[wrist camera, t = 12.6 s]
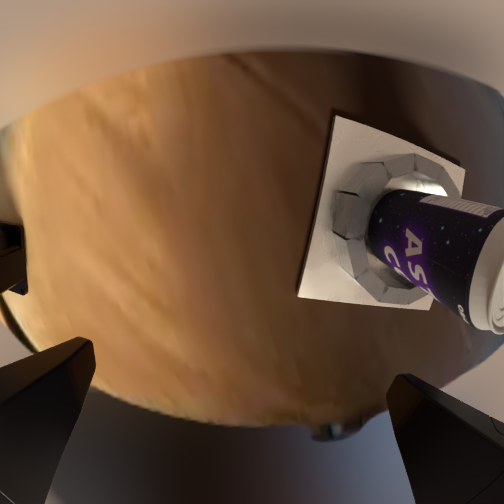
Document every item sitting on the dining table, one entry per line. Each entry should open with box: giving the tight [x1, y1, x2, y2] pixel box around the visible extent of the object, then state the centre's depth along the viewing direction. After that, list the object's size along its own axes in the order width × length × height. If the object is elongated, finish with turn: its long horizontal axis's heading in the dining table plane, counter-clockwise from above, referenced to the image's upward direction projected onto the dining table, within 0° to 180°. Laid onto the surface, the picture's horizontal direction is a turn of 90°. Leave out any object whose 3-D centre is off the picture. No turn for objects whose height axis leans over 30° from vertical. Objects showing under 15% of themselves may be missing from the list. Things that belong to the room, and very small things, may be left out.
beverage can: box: [368, 189, 504, 334], centre depth 13 cm, size 6×6×12 cm
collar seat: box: [296, 116, 465, 310], centre depth 18 cm, size 13×13×3 cm
